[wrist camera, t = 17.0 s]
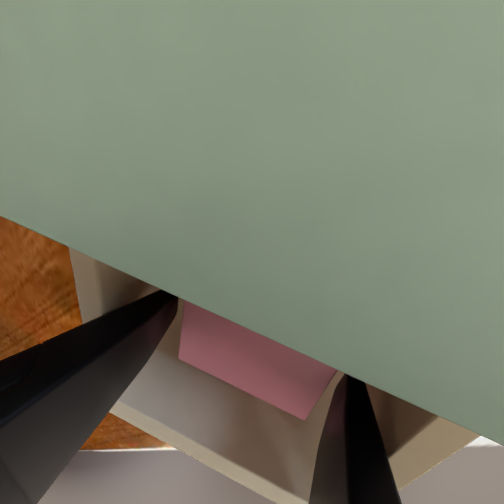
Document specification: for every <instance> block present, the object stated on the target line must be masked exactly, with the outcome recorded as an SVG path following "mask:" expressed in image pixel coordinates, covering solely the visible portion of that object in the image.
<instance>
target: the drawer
mask: <svg viewBox="0 0 504 504" xmlns="http://www.w3.org/2000/svg"><path fill="white" fill-rule="evenodd" d="M69 252H70V258H71V263H72V269H73V274H74V280H75V285H76V290H77V296H78V301H79V307H80V312H81V318H82V323H83V324H84V323H87V322H89V321H91V320H93V319H96V318H98V317H100V316H102V315H104V314H107V313H109V312H111V311H113V310H116V309H118V308H120V307H122V306H124V305H127V304H129V303H131V302H133V301H136V300H138V299H140V298H142V297H144V296H147V295H149V294H151V293H153V292H156V291H158V290H160V289H159V288H157V287H155V286H153V285H151V284H148V283H146V282H144V281H142V280H140V279H138V278H135V277H133V276H131V275H129V274H127V273H124V272H122V271H120V270H118V269H116V268H113V267H111V266H109V265H107V264H105V263H102V262H100V261H98V260H96V259H94V258H92V257H89V256H87V255H85V254H83V253H81V252H78V251H76V250H74V249H72V248H70V247H69ZM183 307H184V300H183V299H181V298H179V300H178V310H177V314H176V316H175V318H174V320H173V321H172V323H171V325H170V326H169V328H168V330H167V331H166V333H165V334H164V336H163V338H162V339H161V341H160V343H159V344H158V346H157V347H156V349H155V351H154V352H153V354H152V356H151V357H150V359H149V360H148V362H147V363H146V364H145V366H144V367H143V368H142V370H141V371H140V372H139V373H138V375H137V376H136V377H135V379H134V380H133V381H132V382H131V384H130V385H129V386H128V388H127V389H126V390H125V391H124V393H123V394H122V395H121V397H120V398H119V399H118V400H117V402H116V403H115V404H114V406H113V407H112V408H111V409H110V411H109V412H110V413H112V414H114V415H116V416H117V417H119V418H121V419H123V420H125V421H127V422H128V423H130V424H132V425H134V426H136V427H138V428H139V429H141V430H143V431H145V432H147V433H149V434H150V435H152V436H154V437H156V438H158V439H160V440H161V441H163V442H165V443H167V444H169V445H171V446H172V447H174V448H176V449H178V450H180V451H182V452H184V453H185V454H187V455H189V456H191V457H193V458H194V459H196V460H198V461H200V462H202V463H204V464H206V465H207V466H209V467H211V468H213V469H214V470H216V471H218V472H220V473H222V474H224V475H225V476H227V477H229V478H231V479H233V480H235V481H236V482H238V483H240V484H242V485H244V486H246V487H248V488H249V489H251V490H253V491H255V492H257V493H259V494H260V495H262V496H264V497H266V498H268V499H270V500H271V501H273V502H275V503H277V504H309V498H310V492H311V486H312V480H313V474H314V468H315V462H316V456H317V451H318V446H319V442H320V438H321V434H322V431H323V428H324V424H325V421H326V417H327V414H328V410H329V407H330V403H331V400H332V397H333V393H334V390H335V388H336V386H337V384H338V383H339V381H340V380H341V378H342V377H343V375H344V374H345V373H343V372H341V371H339V370H338V371H337V372H336V374H335V375H334V377H333V378H332V380H331V381H330V383H329V384H328V386H327V388H326V389H325V391H324V392H323V394H322V395H321V397H320V398H319V400H318V401H317V403H316V404H315V406H314V407H313V409H312V410H311V412H310V413H309V415H308V417H307V418H306V419H305V420H302V419H300V418H298V417H296V416H294V415H292V414H290V413H288V412H286V411H284V410H282V409H280V408H278V407H276V406H274V405H272V404H270V403H267V402H265V401H263V400H261V399H259V398H257V397H255V396H253V395H251V394H249V393H247V392H245V391H243V390H241V389H239V388H237V387H235V386H233V385H231V384H229V383H227V382H225V381H223V380H221V379H219V378H217V377H215V376H213V375H211V374H208V373H206V372H204V371H202V370H200V369H198V368H196V367H194V366H192V365H190V364H188V363H186V362H184V361H182V360H180V359H179V358H178V354H179V345H180V335H181V326H182V316H183ZM365 384H366V387H367V390H368V394H369V397H370V400H371V404H372V407H373V410H374V413H375V417H376V420H377V423H378V427H379V430H380V433H381V437H382V440H383V443H384V447H385V450H386V453H387V456H388V460H389V463H390V466H391V470H392V473H393V476H394V480H395V483H396V486H397V490H398V491H400V490H401V489H402V488H404V487H405V486H407V485H408V484H410V483H411V482H413V481H414V480H416V479H417V478H419V477H420V476H422V475H423V474H425V473H426V472H428V471H429V470H430V469H432V468H433V467H435V466H436V465H438V464H439V463H441V462H442V461H444V460H445V459H447V458H448V457H450V456H451V455H453V454H454V453H455V452H457V451H458V450H460V449H462V448H463V447H464V446H466V445H467V444H469V443H470V442H472V441H473V440H475V439H476V438H478V437H479V436H481V435H479V434H477V433H475V432H473V431H470V430H468V429H466V428H464V427H462V426H459V425H457V424H455V423H453V422H451V421H449V420H446V419H444V418H442V417H440V416H438V415H435V414H433V413H431V412H429V411H427V410H424V409H422V408H420V407H418V406H416V405H413V404H411V403H409V402H407V401H405V400H403V399H400V398H398V397H396V396H394V395H392V394H389V393H387V392H385V391H383V390H381V389H378V388H376V387H374V386H372V385H370V384H367V383H365Z"/></svg>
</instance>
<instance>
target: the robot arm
mask: <svg viewBox="0 0 504 504" xmlns="http://www.w3.org/2000/svg"><path fill="white" fill-rule="evenodd" d="M178 300H179V297H177V296H175V295H173V294H170V293H168V292H166V291H164V290H162V289H160V290H158V291H156V292H153V293H151V294H149V295H147V296H144V297H142V298H140V299H138V300H136V301H133V302H131V303H129V304H127V305H124V306H122V307H120V308H118V309H116V310H113V311H111V312H109V313H107V314H104V315H102V316H100V317H98V318H96V319H93V320H91V321H89V322H87V323H84V324H82V325H80V326H78V327H76V328H73V329H71V330H69V331H67V332H64V333H62V334H60V335H58V336H56V337H53V338H51V339H49V340H47V341H44V342H43V344H38V345H35V346H33V347H31V348H29V349H26V350H24V351H22V352H19V353H17V354H15V355H12V356H10V357H8V358H5V359H3V360H1V361H0V504H37V503H38V502H39V500H40V499H41V498H42V497H43V495H44V494H45V493H46V491H47V490H48V489H49V488H50V486H51V485H52V484H53V483H54V481H55V480H56V479H57V477H58V476H59V475H60V474H61V472H62V471H63V470H64V468H65V467H66V466H67V465H68V463H69V462H70V461H71V459H72V458H73V457H74V456H75V454H76V453H77V452H78V450H79V449H80V448H81V447H82V445H83V444H84V443H85V441H86V440H87V439H88V438H89V436H90V435H91V434H92V433H93V431H94V430H95V429H96V427H97V426H98V425H99V424H100V422H101V421H102V420H103V418H104V417H105V416H106V415H107V413H108V412H109V411H110V409H111V408H112V407H113V406H114V404H115V403H116V402H117V400H118V399H119V398H120V397H121V395H122V394H123V393H124V391H125V390H126V389H127V388H128V386H129V385H130V384H131V382H132V381H133V380H134V379H135V377H136V376H137V375H138V373H139V372H140V371H141V370H142V368H143V367H144V366H145V364H146V363H147V362H148V360H149V359H150V357H151V356H152V354H153V352H154V351H155V349H156V347H157V346H158V344H159V343H160V341H161V339H162V338H163V336H164V334H165V333H166V331H167V330H168V328H169V326H170V325H171V323H172V321H173V320H174V318H175V316H176V314H177V310H178ZM309 504H402V503H401V500H400V496H399V493H398V490H397V486H396V483H395V480H394V476H393V473H392V470H391V466H390V463H389V460H388V456H387V453H386V450H385V447H384V443H383V440H382V437H381V433H380V430H379V427H378V423H377V420H376V417H375V413H374V410H373V407H372V404H371V400H370V397H369V394H368V390H367V387H366V384H365V382H363V381H361V380H359V379H357V378H354V377H352V376H350V375H348V374H346V373H345V374H344V375H343V377H342V378H341V380H340V381H339V383H338V384H337V386H336V388H335V390H334V393H333V397H332V400H331V403H330V407H329V410H328V414H327V417H326V421H325V424H324V428H323V431H322V434H321V438H320V442H319V446H318V451H317V456H316V462H315V468H314V474H313V480H312V486H311V492H310V498H309Z"/></svg>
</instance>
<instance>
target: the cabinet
mask: <svg viewBox="0 0 504 504" xmlns="http://www.w3.org/2000/svg"><path fill="white" fill-rule="evenodd" d="M0 216H2V217H4V218H6V219H8V220H10V221H13V222H15V223H17V224H19V225H21V226H24V227H26V228H28V229H30V230H32V231H35V232H37V233H39V234H41V235H43V236H46V237H48V238H50V239H52V240H54V241H56V242H59V243H61V244H63V245H65V246H67V247H70V248H72V249H74V250H76V251H78V252H81V253H83V254H85V255H87V256H89V257H92V258H94V259H96V260H98V261H100V262H102V263H105V264H107V265H109V266H111V267H113V268H116V269H118V270H120V271H122V272H124V273H127V274H129V275H131V276H133V277H135V278H138V279H140V280H142V281H144V282H146V283H148V284H151V285H153V286H155V287H157V288H159V289H162V290H164V291H166V292H168V293H170V294H173V295H175V296H177V297H179V298H181V299H183V300H186V301H188V302H190V303H192V304H194V305H197V306H199V307H201V308H203V309H205V310H208V311H210V312H212V313H214V314H216V315H219V316H221V317H223V318H225V319H227V320H229V321H232V322H234V323H236V324H238V325H240V326H243V327H245V328H247V329H249V330H251V331H254V332H256V333H258V334H260V335H262V336H265V337H267V338H269V339H271V340H273V341H275V342H278V343H280V344H282V345H284V346H286V347H289V348H291V349H293V350H295V351H297V352H300V353H302V354H304V355H306V356H308V357H311V358H313V359H315V360H317V361H319V362H321V363H324V364H326V365H328V366H330V367H332V368H335V369H337V370H339V371H341V372H343V373H346V374H348V375H350V376H352V377H354V378H357V379H359V380H361V381H363V382H365V383H367V384H370V385H372V386H374V387H376V388H378V389H381V390H383V391H385V392H387V393H389V394H392V395H394V396H396V397H398V398H400V399H403V400H405V401H407V402H409V403H411V404H413V405H416V406H418V407H420V408H422V409H424V410H427V411H429V412H431V413H433V414H435V415H438V416H440V417H442V418H444V419H446V420H449V421H451V422H453V423H455V424H457V425H459V426H462V427H464V428H466V429H468V430H470V431H473V432H475V433H477V434H479V435H481V436H484V437H486V438H488V439H490V440H492V441H495V442H497V443H499V444H501V445H503V446H504V0H0Z"/></svg>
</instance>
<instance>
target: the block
mask: <svg viewBox="0 0 504 504" xmlns="http://www.w3.org/2000/svg"><path fill="white" fill-rule="evenodd" d="M178 358H179V359H180V360H182V361H184V362H186V363H188V364H190V365H192V366H194V367H196V368H198V369H200V370H202V371H204V372H206V373H208V374H211V375H213V376H215V377H217V378H219V379H221V380H223V381H225V382H227V383H229V384H231V385H233V386H235V387H237V388H239V389H241V390H243V391H245V392H247V393H249V394H251V395H253V396H255V397H257V398H259V399H261V400H263V401H265V402H267V403H270V404H272V405H274V406H276V407H278V408H280V409H282V410H284V411H286V412H288V413H290V414H292V415H294V416H296V417H298V418H300V419H302V420H305V419H306V418H307V417H308V415H309V413H310V412H311V410H312V409H313V407H314V406H315V404H316V403H317V401H318V400H319V398H320V397H321V395H322V394H323V392H324V391H325V389H326V388H327V386H328V384H329V383H330V381H331V380H332V378H333V377H334V375H335V374H336V372H337V371H338V370H337V369H335V368H332V367H330V366H328V365H326V364H324V363H321V362H319V361H317V360H315V359H313V358H311V357H308V356H306V355H304V354H302V353H300V352H297V351H295V350H293V349H291V348H289V347H286V346H284V345H282V344H280V343H278V342H275V341H273V340H271V339H269V338H267V337H265V336H262V335H260V334H258V333H256V332H254V331H251V330H249V329H247V328H245V327H243V326H240V325H238V324H236V323H234V322H232V321H229V320H227V319H225V318H223V317H221V316H219V315H216V314H214V313H212V312H210V311H208V310H205V309H203V308H201V307H199V306H197V305H194V304H192V303H190V302H188V301H186V300H184V307H183V316H182V326H181V335H180V345H179V354H178Z"/></svg>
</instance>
